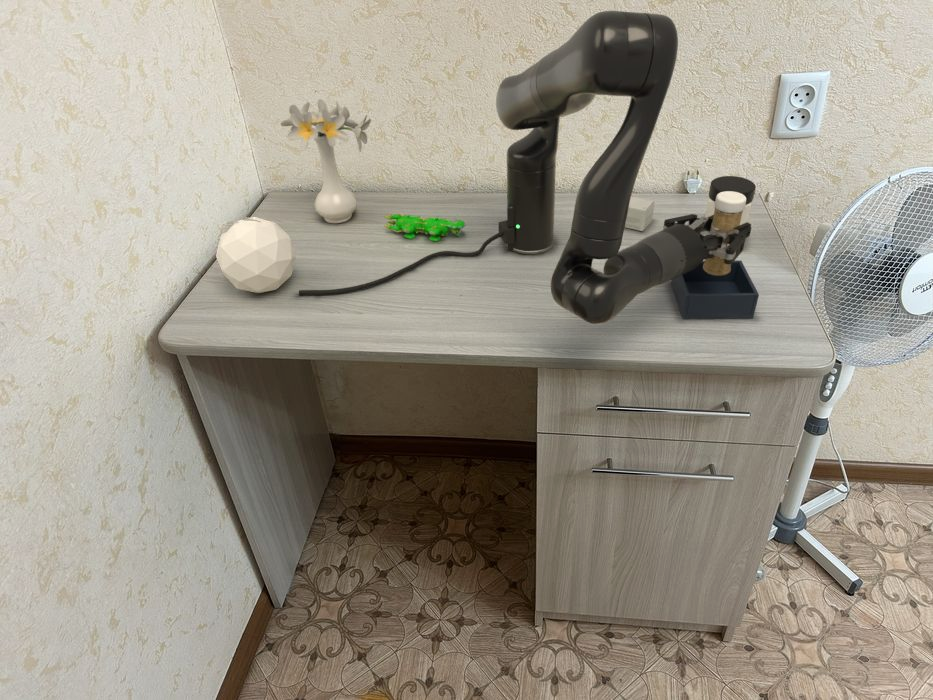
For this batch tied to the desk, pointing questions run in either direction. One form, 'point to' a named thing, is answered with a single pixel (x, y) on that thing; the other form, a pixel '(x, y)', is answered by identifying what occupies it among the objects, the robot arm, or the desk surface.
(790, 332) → the desk surface
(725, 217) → the sprinkles bottle
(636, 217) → the small box
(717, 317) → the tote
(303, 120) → the flower vase
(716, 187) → the jar
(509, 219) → the robot arm
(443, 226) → the crocodile figurine
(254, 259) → the geodesic sphere
